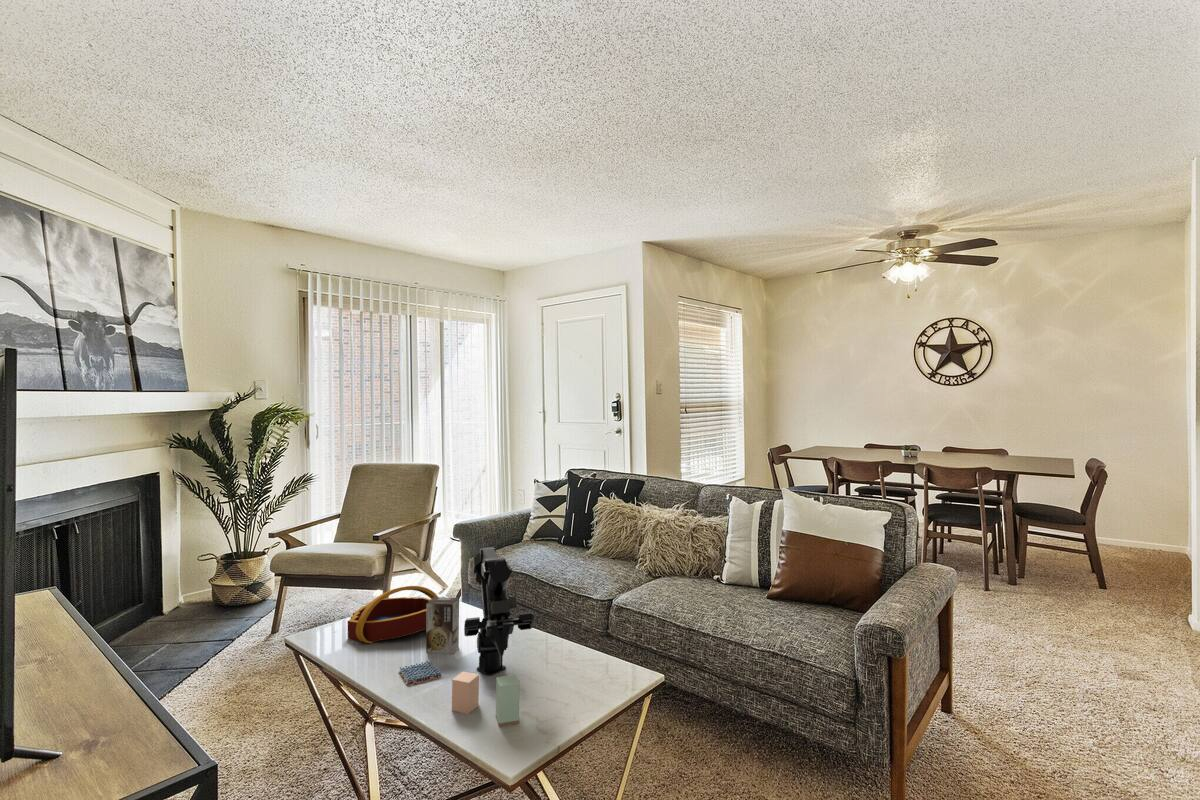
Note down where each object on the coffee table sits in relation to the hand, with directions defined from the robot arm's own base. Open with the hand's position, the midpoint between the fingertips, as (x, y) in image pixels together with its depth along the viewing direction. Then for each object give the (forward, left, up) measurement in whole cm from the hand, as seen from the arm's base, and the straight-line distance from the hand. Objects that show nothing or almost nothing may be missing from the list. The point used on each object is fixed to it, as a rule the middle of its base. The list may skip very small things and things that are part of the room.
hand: (501, 655), depth 154 cm
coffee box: (-11, -41, -13) cm, 45 cm away
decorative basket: (-12, -67, -14) cm, 70 cm away
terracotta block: (+7, -6, -13) cm, 16 cm away
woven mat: (+4, -31, -14) cm, 34 cm away
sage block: (+4, +7, -13) cm, 15 cm away
